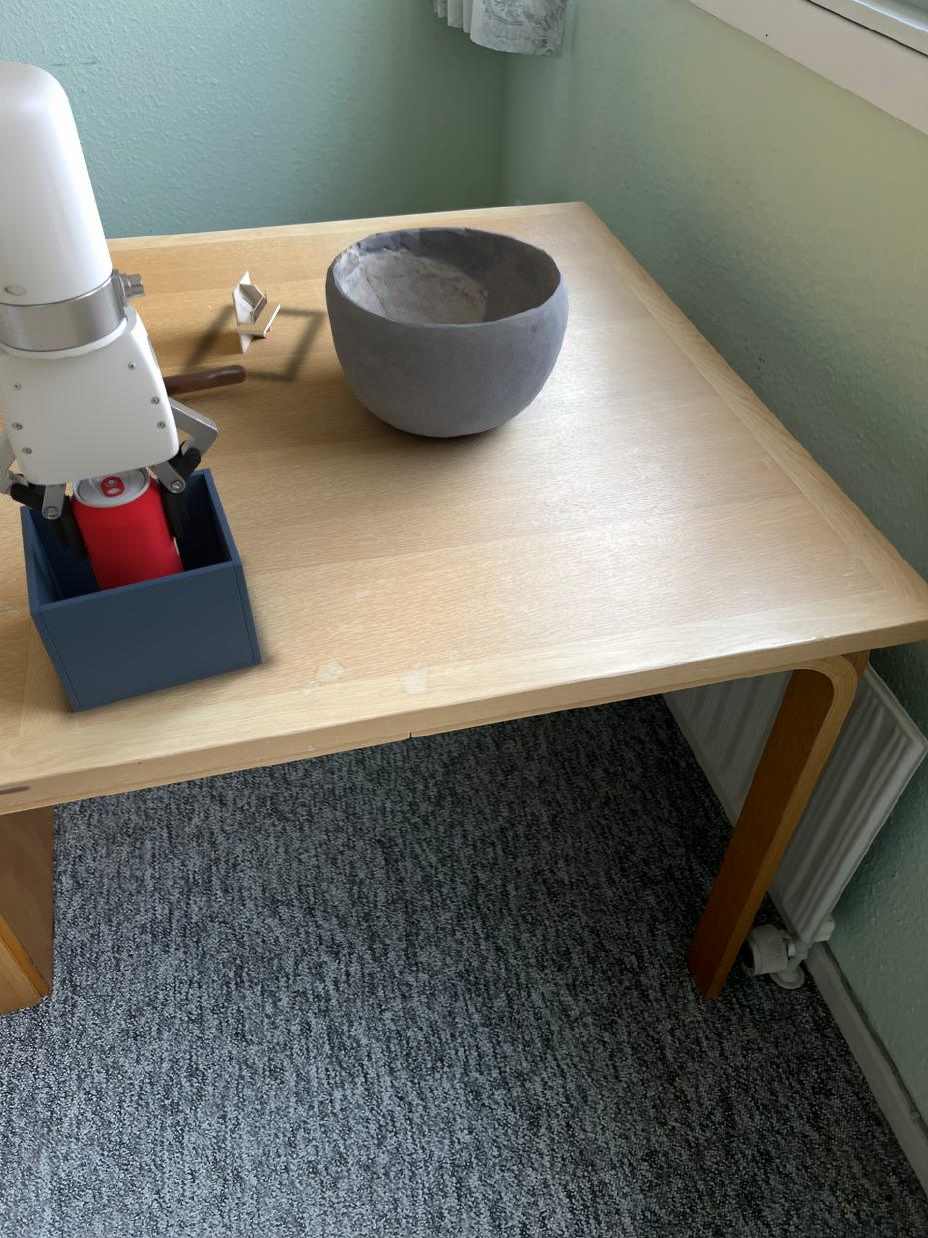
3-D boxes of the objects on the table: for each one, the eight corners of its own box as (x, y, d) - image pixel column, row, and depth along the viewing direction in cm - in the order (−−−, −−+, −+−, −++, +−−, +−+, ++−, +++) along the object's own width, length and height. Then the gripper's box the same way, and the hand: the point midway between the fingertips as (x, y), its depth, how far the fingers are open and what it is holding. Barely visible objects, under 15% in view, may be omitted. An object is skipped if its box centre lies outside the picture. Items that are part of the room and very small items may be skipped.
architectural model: (284, 332, 110) (276, 271, 105) (268, 361, 105) (259, 299, 100) (256, 330, 110) (246, 269, 105) (238, 359, 105) (228, 297, 100)
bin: (74, 714, 69) (29, 613, 61) (60, 606, 77) (19, 506, 69) (262, 664, 73) (242, 563, 65) (231, 566, 80) (209, 467, 73)
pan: (59, 454, 92) (49, 427, 89) (51, 399, 99) (42, 372, 96) (261, 415, 97) (256, 389, 95) (239, 366, 104) (235, 340, 102)
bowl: (385, 332, 110) (380, 203, 100) (583, 370, 105) (599, 239, 94) (291, 441, 94) (272, 302, 83) (519, 494, 89) (530, 352, 78)
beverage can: (180, 569, 75) (146, 446, 67) (200, 618, 71) (167, 494, 63) (101, 591, 73) (57, 467, 65) (117, 643, 69) (72, 518, 61)
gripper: (191, 258, 59) (235, 483, 72) (-103, 301, 55) (1, 534, 67) (213, 310, 54) (257, 542, 67) (-107, 362, 50) (5, 600, 63)
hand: (128, 536), depth 67 cm, fingers closed on beverage can, 6 cm apart
